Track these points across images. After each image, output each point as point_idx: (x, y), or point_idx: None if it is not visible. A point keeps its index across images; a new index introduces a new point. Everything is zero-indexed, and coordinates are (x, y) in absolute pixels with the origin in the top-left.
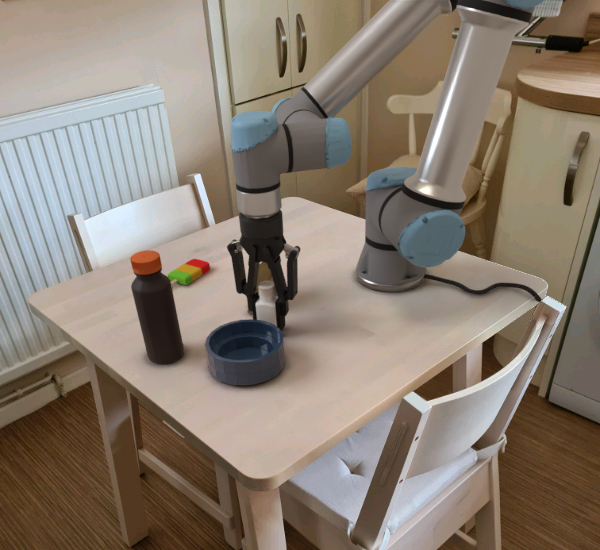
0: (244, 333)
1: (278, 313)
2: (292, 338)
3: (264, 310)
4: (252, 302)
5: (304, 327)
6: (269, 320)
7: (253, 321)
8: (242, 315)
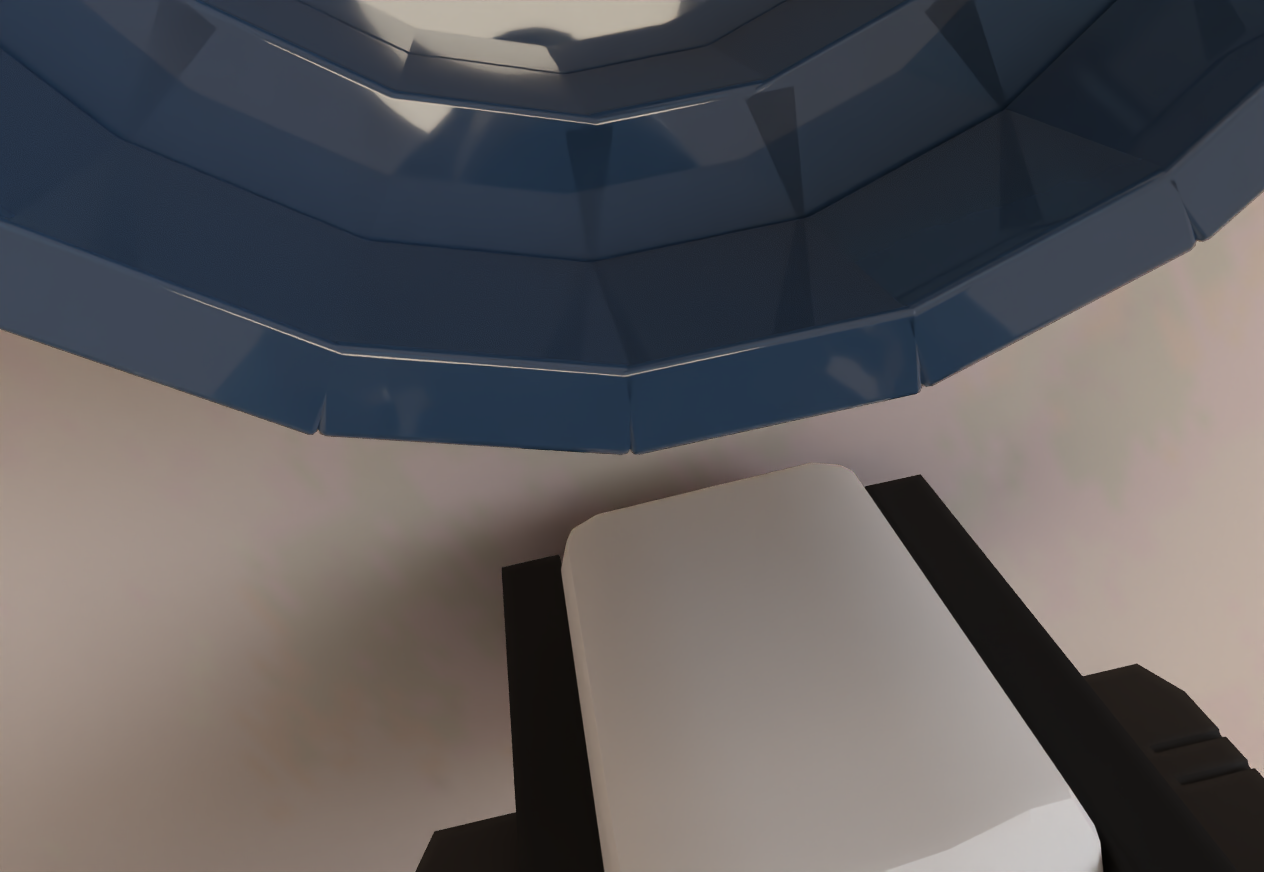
0: (963, 94)
1: (539, 820)
2: (326, 561)
3: (823, 758)
4: (1181, 832)
5: (347, 805)
6: (681, 630)
7: (873, 313)
8: (1190, 664)
